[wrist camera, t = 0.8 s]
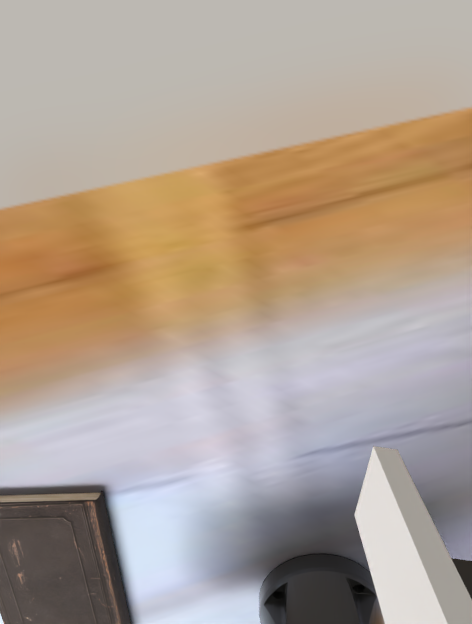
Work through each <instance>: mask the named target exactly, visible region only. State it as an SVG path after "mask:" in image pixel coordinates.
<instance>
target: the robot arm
mask: <svg viewBox="0 0 472 624" xmlns="http://www.w3.org/2000/svg"><path fill="white" fill-rule="evenodd" d="M355 519H356V522H357V526H358V530H359V533H360V537H361V540H362V544H363V547H364V551H365V554H366V558H367V562H368V565H369V569H370V572H371V574H370V573H369V572H368V571H367V570H366V569H365V568H364V567H362V566H361V565H359V564H357V563H356V562H354V561H351V560H349V559H346V558H343V557H339V556H334V555H326V554H315V555H306V556H301V557H298V558H294V559H292V560H289V561H287V562H285V563H283V564H281V565H280V566H278V567H277V568H276V569H274V570H273V571H272V572H271V573H270V574H269V575H268V576H267V578H266V579H265V581H264V582H263V584H262V587H261V590H260V594H259V616H260V622H261V624H472V561H467V560H460V559H452V558H451V557H450V555H449V553H448V551H447V549H446V547H445V545H444V543H443V541H442V539H441V537H440V535H439V533H438V531H437V529H436V527H435V525H434V523H433V521H432V519H431V517H430V515H429V513H428V511H427V509H426V507H425V505H424V503H423V501H422V499H421V497H420V495H419V493H418V491H417V489H416V487H415V485H414V483H413V481H412V479H411V476H410V474H409V472H408V470H407V468H406V466H405V464H404V462H403V460H402V458H401V456H400V454H399V452H398V450H396V449H389V448H382V447H375V446H373V449H372V453H371V456H370V460H369V464H368V467H367V471H366V475H365V478H364V482H363V486H362V489H361V493H360V496H359V500H358V504H357V507H356V511H355Z"/></svg>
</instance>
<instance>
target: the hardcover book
mask: <svg viewBox="0 0 472 624" xmlns="http://www.w3.org/2000/svg"><path fill="white" fill-rule="evenodd" d="M0 613H1V616H2V619H3V622H4V624H131V621H130V616H129V612H128V607H127V602H126V598H125V593H124V588H123V584H122V579H121V574H120V570H119V565H118V560H117V556H116V551H115V546H114V542H113V537H112V532H111V528H110V523H109V518H108V514H107V509H106V504H105V499H104V495H103V491H101V493H70V494H36V495H5V496H0Z"/></svg>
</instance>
